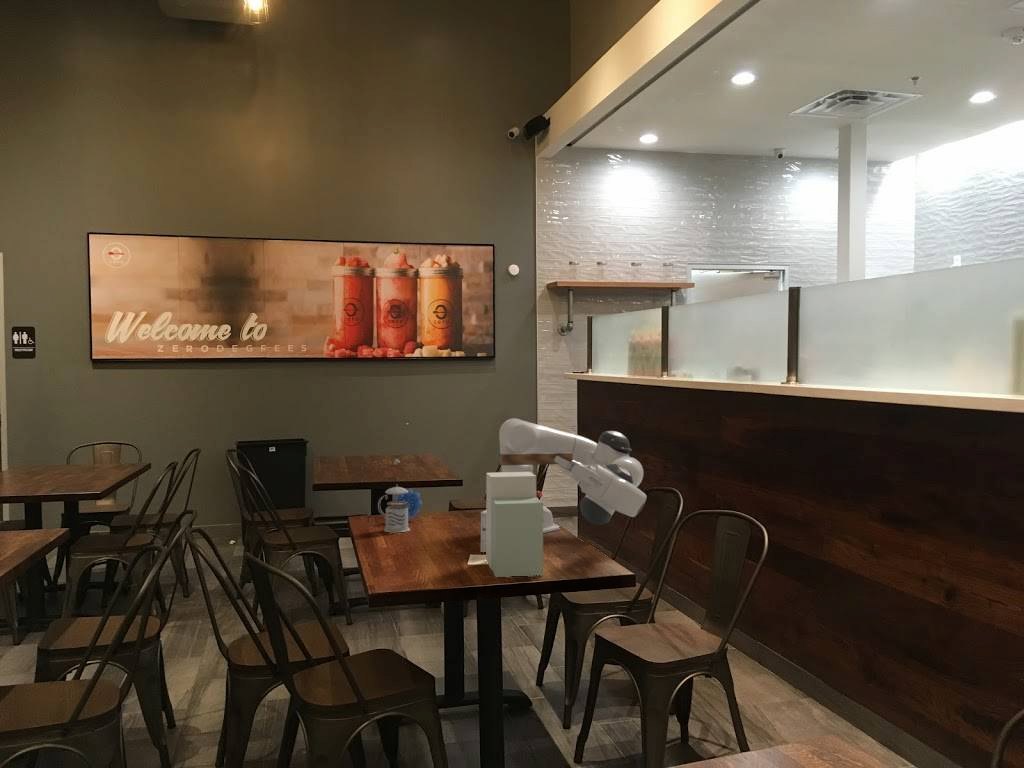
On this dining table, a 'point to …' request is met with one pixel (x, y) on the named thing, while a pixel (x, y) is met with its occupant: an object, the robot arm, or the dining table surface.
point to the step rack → (513, 524)
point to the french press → (396, 511)
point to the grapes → (410, 503)
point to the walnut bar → (533, 458)
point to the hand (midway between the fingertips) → (552, 456)
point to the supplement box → (483, 531)
